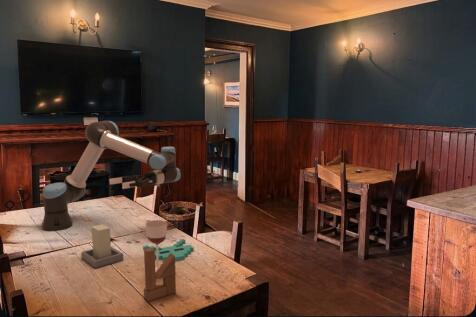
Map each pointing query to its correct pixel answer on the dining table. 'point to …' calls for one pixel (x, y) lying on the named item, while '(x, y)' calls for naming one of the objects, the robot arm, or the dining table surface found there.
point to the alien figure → (173, 251)
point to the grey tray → (114, 258)
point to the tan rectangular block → (101, 241)
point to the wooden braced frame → (158, 276)
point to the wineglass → (156, 234)
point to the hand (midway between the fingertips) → (115, 183)
